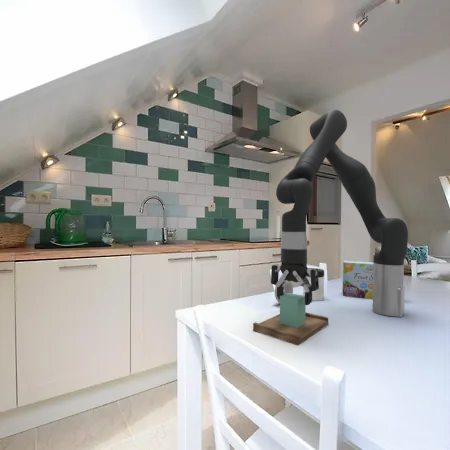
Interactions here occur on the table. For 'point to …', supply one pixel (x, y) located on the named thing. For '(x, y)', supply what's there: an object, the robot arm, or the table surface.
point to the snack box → (358, 279)
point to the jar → (319, 294)
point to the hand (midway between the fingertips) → (293, 301)
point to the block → (292, 310)
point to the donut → (285, 289)
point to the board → (292, 328)
